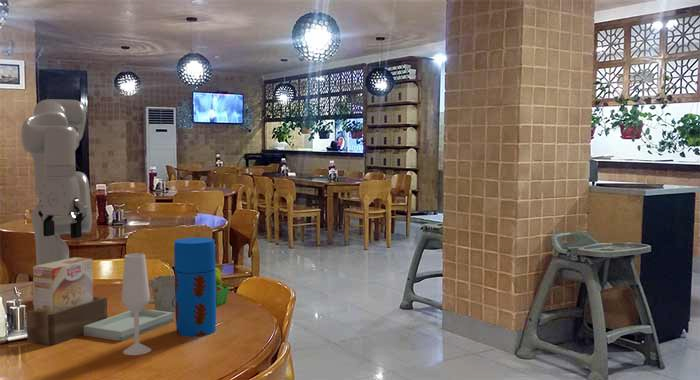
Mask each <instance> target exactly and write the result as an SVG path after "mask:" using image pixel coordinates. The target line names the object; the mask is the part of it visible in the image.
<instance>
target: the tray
mask: <svg viewBox="0 0 700 380" xmlns="http://www.w3.org/2000/svg"><path fill="white" fill-rule="evenodd" d="M171 322H172V323H173V322H174V311H173V312H165V311H157V310H156V309H150V308H149V309H148V308H143V309H142V310H141V311H140V312H139V335H141V334H145V333H147V332H150V331H151V330H155V329H157V328H159V327H162V326H165V325H167V324H170V323H171ZM83 336H87V337H93V338H99V339H106V340H111V341H112V340H113V341H118V342H123V341H126V340H128V339H132V338H134V313H133V312H131V311H130V310H128V311H125V312H121V313H118V314H116V315H113V316H110V317H107V318H106V319H103V320H100V321H97V322H94V323H91V324H88V325H85V326H84V335H83Z"/></svg>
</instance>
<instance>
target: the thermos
mask: <svg viewBox="0 0 700 380" xmlns="http://www.w3.org/2000/svg"><path fill="white" fill-rule="evenodd" d="M173 248H174V249H173V251H174V254H173V255H174V276H175V311H174V312H175V325H176V326H175V327H176V334H177V335H179V336H182V337H189V338H192V337H203V336H207V335H208V336H209V335H211V334H213V333H215V332H216V330H217V328H216V327H217V306H216V269H215V268H216V267H217V266H216V242H215V239H214V238H209V237H187V238H186V237H184V238H180V239H179V238H178V239H176V240H175V241H174V246H173Z"/></svg>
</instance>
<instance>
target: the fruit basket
mask: <svg viewBox="0 0 700 380" xmlns="http://www.w3.org/2000/svg"><path fill="white" fill-rule="evenodd" d="M215 269H216V307H218V306H220V305H223V304H225V303H227V299H228V296H229V295H228V294H229V291H230V289H231V286H227V285H221V283H222V272H221V270H220V268H219V266H216V268H215Z"/></svg>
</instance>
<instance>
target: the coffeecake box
mask: <svg viewBox="0 0 700 380" xmlns="http://www.w3.org/2000/svg"><path fill="white" fill-rule="evenodd" d="M93 267H94V265H93V258H88V257H87V258H86V257H71V258H70V257H69V259H65V260H60V261H56V262H51V263H47V264H42V265H38V266H37V265H35V266H34V265H33V266H32V281H33V291H34V295H33V300H34V306H33V311H37V312H44V313H50V314H51V313H55V312H58V311H61V310H65V309H68V308H71V307H75V306H78V305H82V304H85V303H88V302H92V301H93V297H94V279H93V278H94V273H93V272H94V271H93V270H94V269H93Z"/></svg>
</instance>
